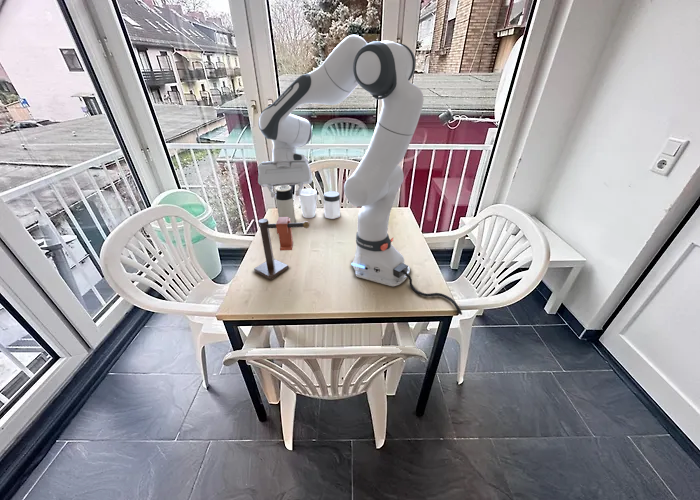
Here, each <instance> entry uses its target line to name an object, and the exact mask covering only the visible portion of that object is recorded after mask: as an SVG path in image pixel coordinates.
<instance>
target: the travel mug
mask: <svg viewBox="0 0 700 500" xmlns="http://www.w3.org/2000/svg"><path fill="white" fill-rule="evenodd" d="M274 189H275V193H276V197H275V201H276V202H275V203H276V209H277V216H278V217H289V218H290V220H291V223H296V214H295V213H296V212H295V205H294V196H293V192H292V185H284V186H275V187H274Z"/></svg>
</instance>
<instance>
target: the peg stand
mask: <svg viewBox="0 0 700 500" xmlns="http://www.w3.org/2000/svg"><path fill="white" fill-rule="evenodd" d="M258 225H259V230H260V236H261V241H262V246H263V251H264V257H265V261H264V262H262V263H261V264H259V265H257V266H256V267H254V268H253V270H254V272H255V273H257V274H258V275H261V276H262V277H263V278H265V279H268V280H270V281H272V280H273V279H275V278H277V277H278V276H279V275H281V274H282V273H284V272H285V271H287V270H288V269H289V265H288V264H286V263H285V262H282V261H280V260H278V259H276V258H274V251H273V246H272V241H271V240H272V239H271V233H270V229H277V228H276V223H269V219H268V218H260V219H258ZM310 226H311V223H310V222H309V221H307V220H304V221H302V222H294V223H288V224H287V227H288V228H291V229H293V228H303V229H309V228H310Z"/></svg>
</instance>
